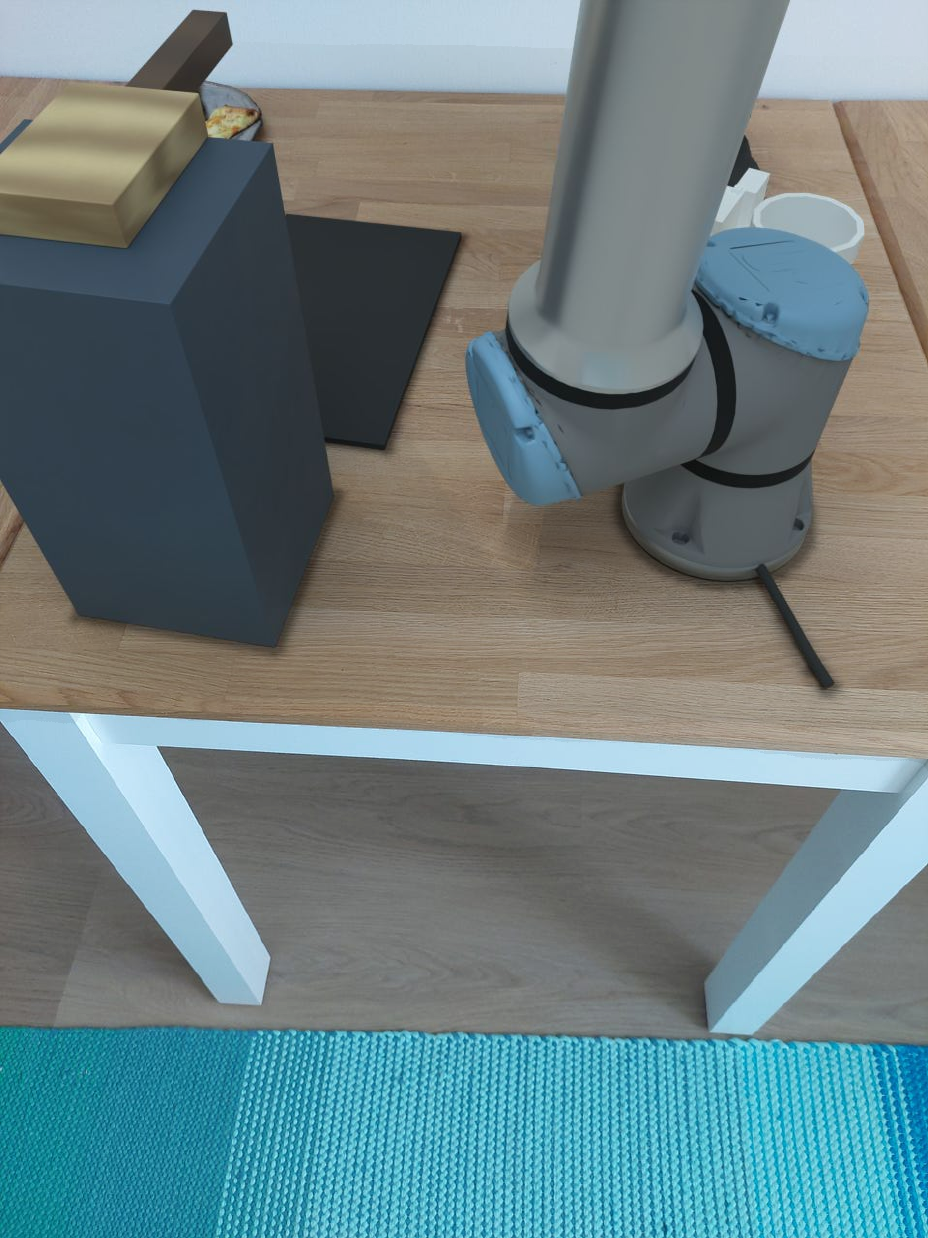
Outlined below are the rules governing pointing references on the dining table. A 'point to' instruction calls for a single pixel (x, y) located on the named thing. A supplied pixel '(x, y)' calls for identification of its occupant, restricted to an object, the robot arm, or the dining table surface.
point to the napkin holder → (741, 201)
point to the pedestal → (168, 407)
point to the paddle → (112, 145)
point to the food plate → (229, 112)
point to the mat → (366, 316)
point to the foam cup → (813, 221)
